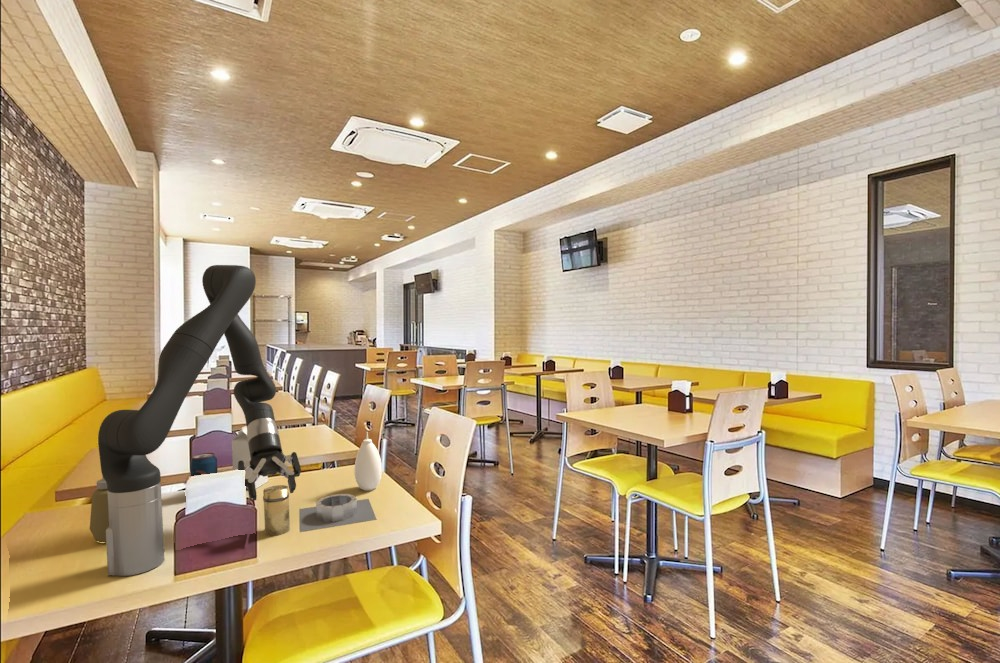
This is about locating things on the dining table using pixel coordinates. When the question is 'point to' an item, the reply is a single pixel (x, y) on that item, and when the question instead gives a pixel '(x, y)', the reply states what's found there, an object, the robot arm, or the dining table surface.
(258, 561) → the dining table surface
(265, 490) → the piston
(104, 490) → the squeeze bottle
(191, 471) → the soda can
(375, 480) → the sauce bottle
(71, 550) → the dining table surface
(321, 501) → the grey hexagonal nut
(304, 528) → the mat
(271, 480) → the dining table surface
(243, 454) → the milk carton
